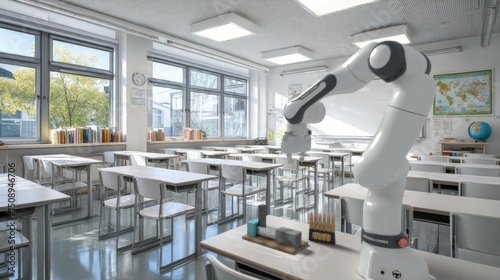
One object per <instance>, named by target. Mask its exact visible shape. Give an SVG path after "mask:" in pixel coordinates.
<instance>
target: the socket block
mask: <svg viewBox="0 0 500 280" xmlns="http://www.w3.org/2000/svg"><path fill="white" fill-rule="evenodd" d="M256 225H258V217H256V218H254V219H252V220H249V221H247V222H246V232H247V233H246V234H247V235H248V236H251V237H255V236H256Z"/></svg>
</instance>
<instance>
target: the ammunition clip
mask: <svg viewBox="0 0 500 280" xmlns="http://www.w3.org/2000/svg"><path fill="white" fill-rule="evenodd" d="M313 215H314V216H313ZM335 218H336V217H335V215H334V214H332V217H331V215H330V213H328V214H327V216H326V213H324V212H323V215H322V213H321V212H319V214H317V212H314V214H313V212H312V211H311V212H310V213H309V221H308V222H309V223H308V228H309V229H308V240H310V241H309V242H313V241H315V242H314V243H319V242H320V244H325V245H326V244H327V245H330V244H331V246H336V242H337V241H336V240H337V239H336V222H335V221H336V220H335Z"/></svg>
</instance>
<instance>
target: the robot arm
mask: <svg viewBox="0 0 500 280" xmlns="http://www.w3.org/2000/svg"><path fill="white" fill-rule="evenodd" d="M431 71H432V62H431V60H430V58H429V57H428V55H426V54H425V53H423V52H421V51H418V50H417V49H415V48H414V47H412V46H411V45H408V44H406V43H405V44H404V43H401V42H399V41H396V40H389V39H388V40H382V41H379V42H378V41H373V42H372V41H371V42H369V43H368V44H365V46H362V48H360V49H359V50H357V51H355V52H354V53H353V54H352V55H350V57H349V58H348V59H346V60H345V62H343V63H341V65H340V66H338V67H337V68H335V69H334V70H333V71H332V72H329V73H328V74H326V75H325V76H323V77H321V78H320V79H319V80H317V81H316V82H314V83H313V84H312V85H311V86H309V87H308V88H307V89H306V90H304V91H303V92H302V93H294V94H291V95H290V96H288V99H287V101H286V103H285V105H284V107H283V116H284V118H285V120H286V126H285V127H286V131H285V132H284V133H283V134H282V137H281V141H280V142H281V143H280V153H281V154H285V155H286V158H287V163H288V165H292V164H294V159H293V154H296V153H298V154H299V153H300V156H299V160H298V161H299V162H300V163H303V162H305V157H306V155H307V152H310V151H311V148H312V135H313V131H312V130H311V129H310V128H308V126H307V125H309V124H310V125H311V124H312V125H313V124H314V125H315V124H319V123H321V122H323V120H324V119H325V116H326V112H327V111H326V107H325V104H324V103H323V102H321V100H324V99H326V98H328V97H330V96H336V95H344V94H345V95H346V94H353V93H356V92H358V91H360V90H362V89H363V88H364V87H366V86H367V85H368V84H369V83H371V82H372V81H373V80H374V79H376V78H379V79H381V80H382V81H383V82H385V83H387V84H389V83H391V84H392V86H393V92H392V94H391V95H392V96H391V98H390V99H389V102H388V105H387V106H386V110H385V111H384V113H383V117H382V119H381V121H380V124H379V126H378V129H377V130H376V132H375V133H374V135H373V137H372V138H371V140H370V141H369V143H368V145H367V146H366V148H365V149H364V151H363V153H362V154H361V155H360V157H359V158H358V159H357V160H356V161H355V162H354V165H353V167H352V175H353V178H354V180H355V182H357V184H358V185H359V186H361V187H363V188H365V189H367V192H366V193H367V194H366V197H365V199H364V201H363V205H362V226H361V229H360V243H361V249H360V255H359V259H358V260H359V261H358V263H357V266H356V272H357V273H358V274H359V276H361V277H363V278H364V279H365V280H437V278H436V277H435V276H434V275H432V274H430V271H429V267H428V266H429V265H428V264H427V262H426V260H425V259H424V257H422V256H421V255H420V254H419V253H417V251H415V250H414V249H413V248H411V246H410V245H409V233H407V234H405V233H404V232H403V231H402V207H403V201H404V196H405V191H406V187H407V186H406V185H407V180H408V174H409V172H410V170H411V169H410V168H411V167H410V161H409V160H408V158H407V155H408V154H409V152H410V151H411V149H413V147H414V145H415V144H416V143H417V141H418V140H419V137H420V135H421V132H422V130H423V128H424V126H425V123H426V121H427V119H428V116H429V115H430V112H431V110H432V106H433V104H434V101H435V97H436V93H437V88H438V84H437V80H435V79H434V77H433V76H431Z"/></svg>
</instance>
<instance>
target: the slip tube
mask: <svg viewBox="0 0 500 280" xmlns="http://www.w3.org/2000/svg"><path fill="white" fill-rule="evenodd" d="M257 211H258V212H257V218H258V225H256V234H259V235H262V236H265V237H269V238H272V239H275V230H276V229H278V228H279V227H275V226H271V225H267V204H264V203H261V204H259V205H257Z"/></svg>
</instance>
